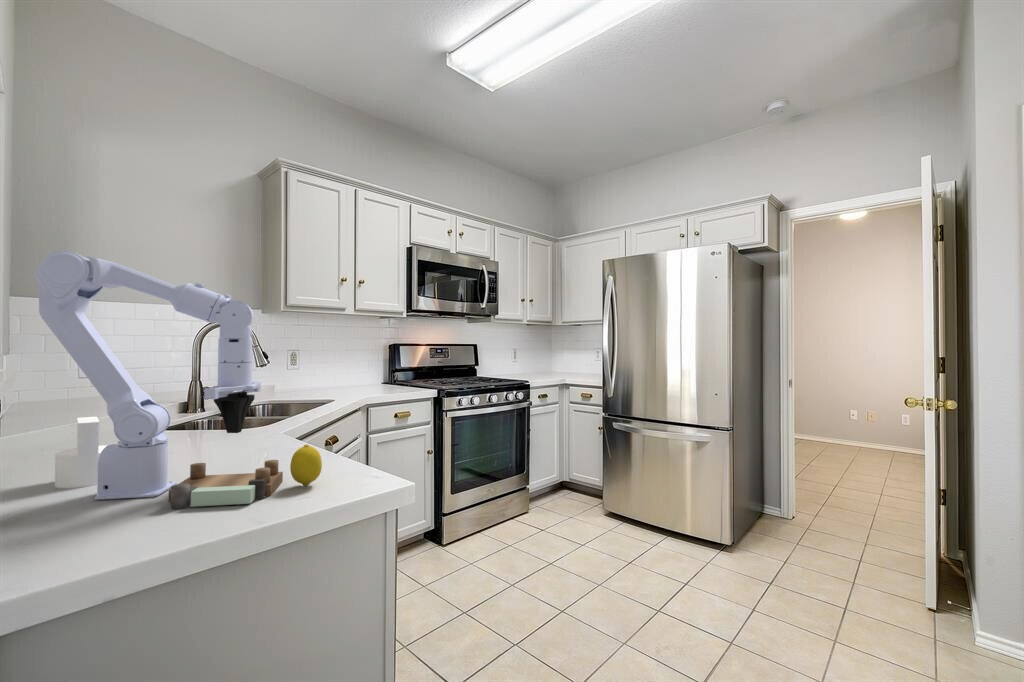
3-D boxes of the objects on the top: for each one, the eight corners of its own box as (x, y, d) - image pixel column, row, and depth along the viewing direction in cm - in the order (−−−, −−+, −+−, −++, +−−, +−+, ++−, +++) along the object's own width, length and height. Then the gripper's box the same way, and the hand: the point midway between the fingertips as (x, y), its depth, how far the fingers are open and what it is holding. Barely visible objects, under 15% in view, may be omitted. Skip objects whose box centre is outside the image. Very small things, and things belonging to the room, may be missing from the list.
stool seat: (155, 510, 77) (156, 482, 77) (190, 486, 90) (191, 462, 90) (263, 504, 80) (264, 477, 80) (282, 481, 93) (282, 459, 93)
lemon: (326, 482, 93) (327, 442, 93) (312, 491, 88) (312, 448, 88) (300, 481, 94) (300, 441, 94) (283, 490, 88) (284, 447, 88)
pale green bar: (190, 506, 78) (190, 492, 78) (197, 501, 80) (197, 487, 80) (250, 503, 80) (250, 489, 80) (254, 498, 82) (255, 485, 82)
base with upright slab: (118, 481, 92) (119, 420, 92) (54, 491, 86) (55, 425, 86) (114, 472, 99) (116, 414, 99) (55, 480, 93) (56, 419, 93)
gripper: (231, 364, 85) (230, 440, 85) (275, 361, 99) (274, 426, 99) (193, 363, 85) (192, 439, 85) (242, 361, 99) (241, 425, 99)
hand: (234, 432), depth 92 cm, fingers closed
